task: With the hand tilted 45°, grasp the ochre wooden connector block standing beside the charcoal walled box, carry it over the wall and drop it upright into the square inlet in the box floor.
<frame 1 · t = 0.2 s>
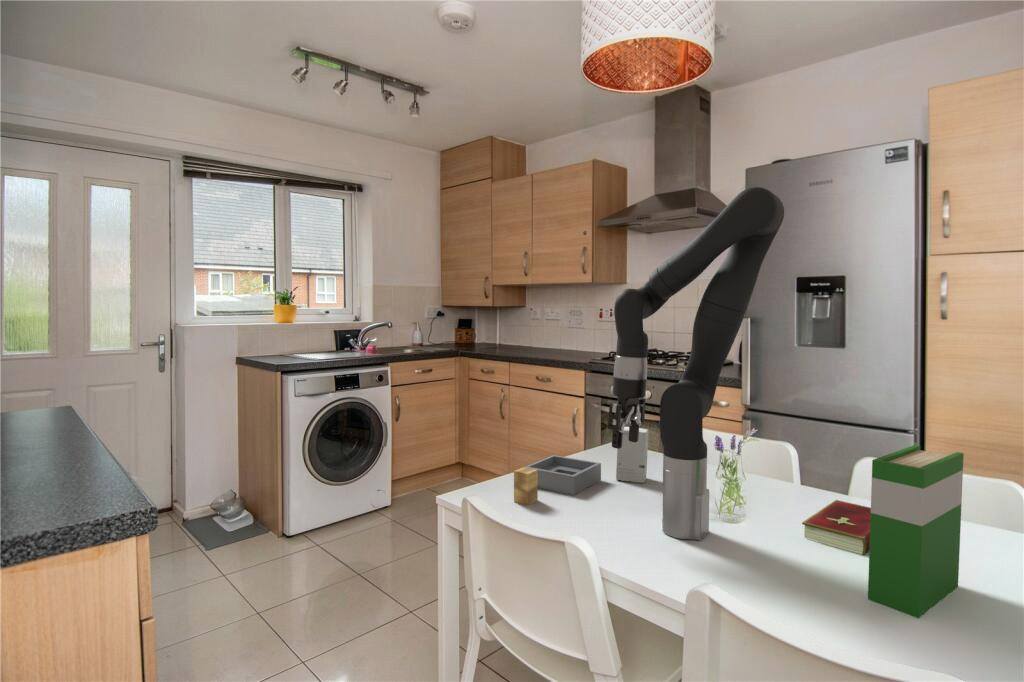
hand: (625, 444, 133), 18 cm above the table, tool pointing down, fingers open, 8 cm apart
skincare box: (632, 480, 165), on the table
hardback book: (913, 594, 99), on the table
walled box: (562, 482, 162), on the table
connector block: (525, 501, 146), on the table
hardcover book: (848, 536, 125), on the table
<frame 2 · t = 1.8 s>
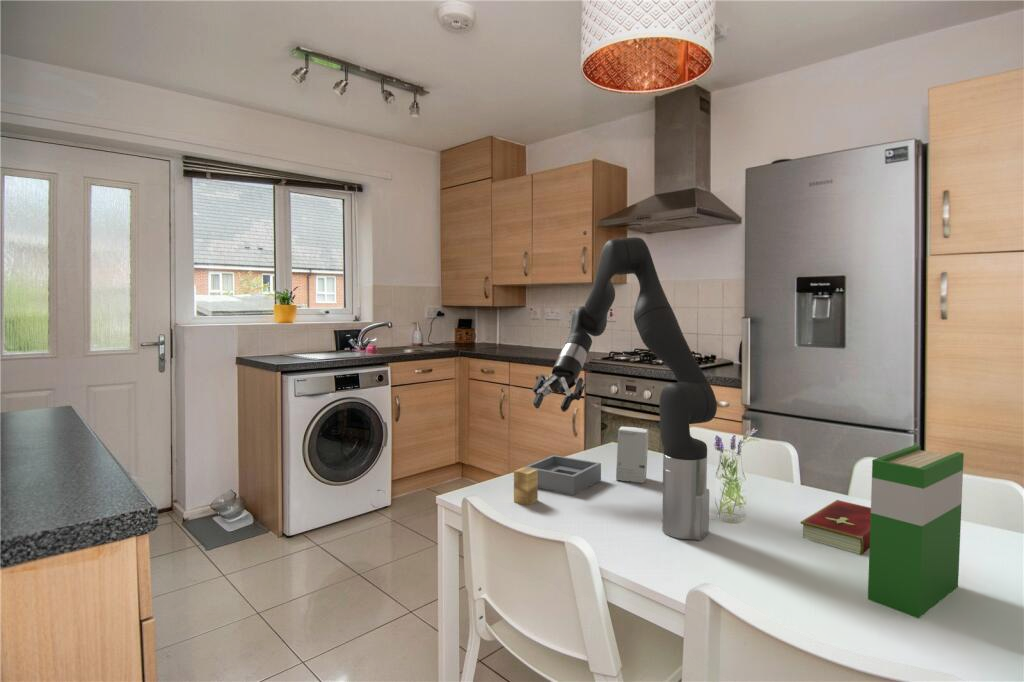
hand: (549, 408, 155), 22 cm above the table, tool tilted 45°, fingers open, 8 cm apart
nothing on the table moved.
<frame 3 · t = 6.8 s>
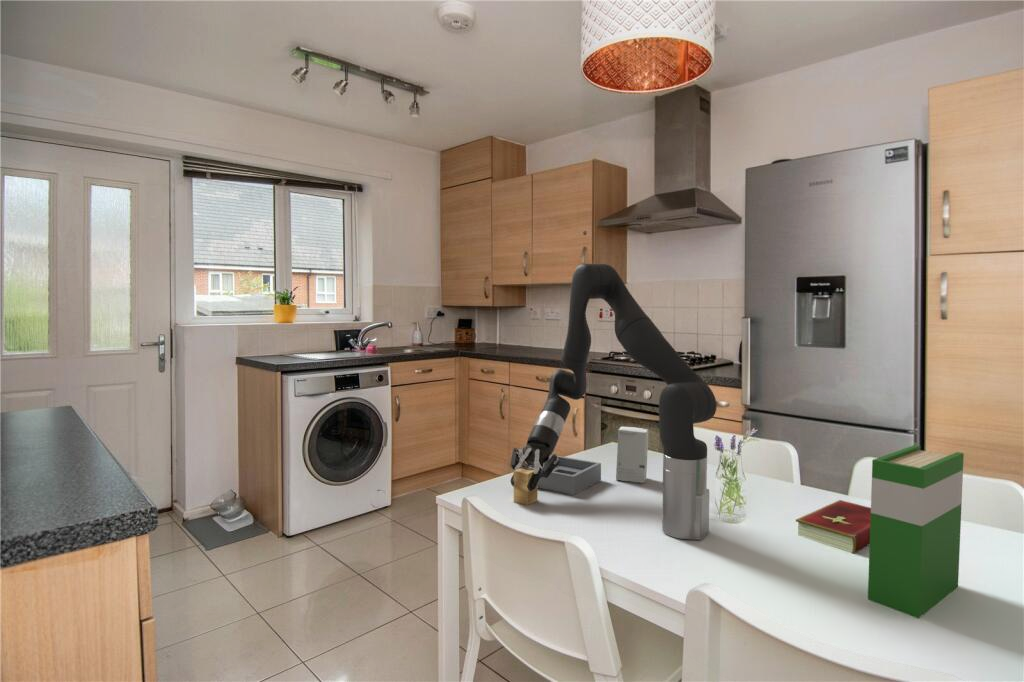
hand: (521, 487, 144), 4 cm above the table, tool tilted 45°, fingers closed on connector block, 4 cm apart
connector block: (525, 501, 146), on the table, touching gripper
when the fingers open (6 cm above the table, at t = 13.9 s): connector block drops 1 cm, resting on walled box.
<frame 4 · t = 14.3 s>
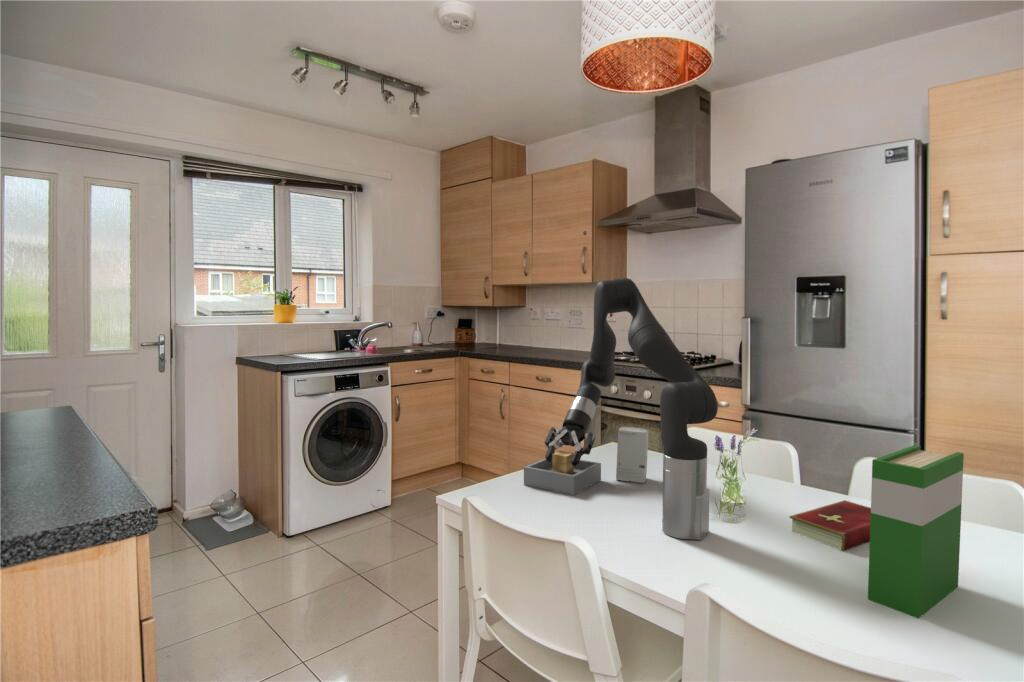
hand: (560, 462, 160), 6 cm above the table, tool tilted 45°, fingers open, 8 cm apart
connector block: (563, 481, 162), resting on walled box
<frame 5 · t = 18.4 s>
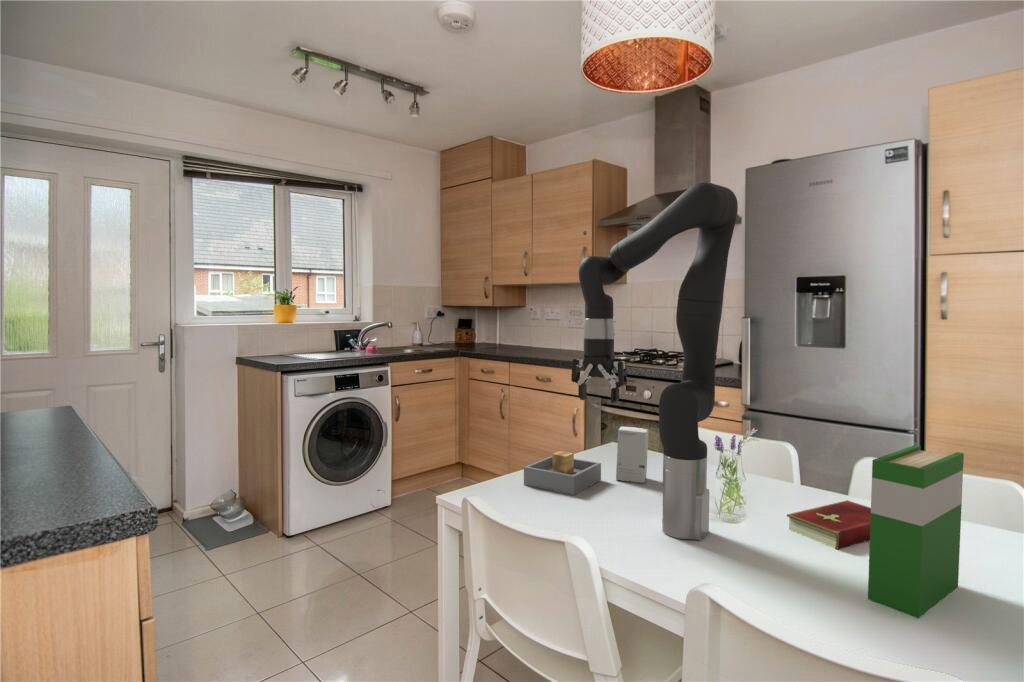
hand: (598, 401, 143), 26 cm above the table, tool pointing down, fingers open, 8 cm apart
at the end: connector block 0.1 cm off-centre on the walled box, point 0.3 cm above the walled box's base; connector block tilted 0°; the gripper is holding nothing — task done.
